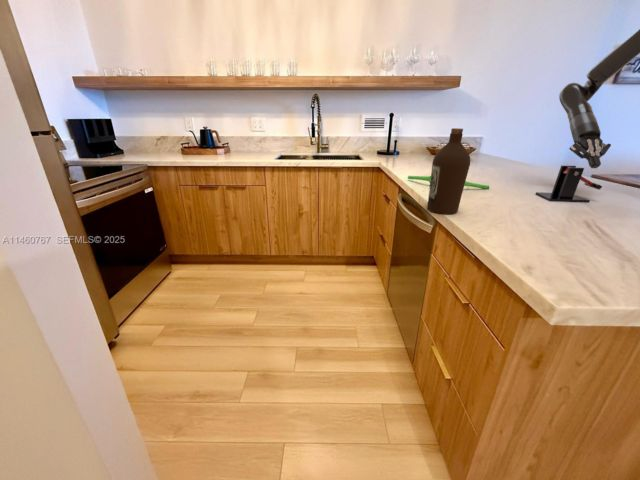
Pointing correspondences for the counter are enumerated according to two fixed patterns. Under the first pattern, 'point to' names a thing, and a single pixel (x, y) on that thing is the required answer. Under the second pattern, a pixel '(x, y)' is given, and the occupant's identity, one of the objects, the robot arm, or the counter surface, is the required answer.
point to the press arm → (587, 181)
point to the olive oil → (448, 175)
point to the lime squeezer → (428, 178)
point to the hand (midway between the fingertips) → (595, 167)
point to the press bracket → (565, 186)
